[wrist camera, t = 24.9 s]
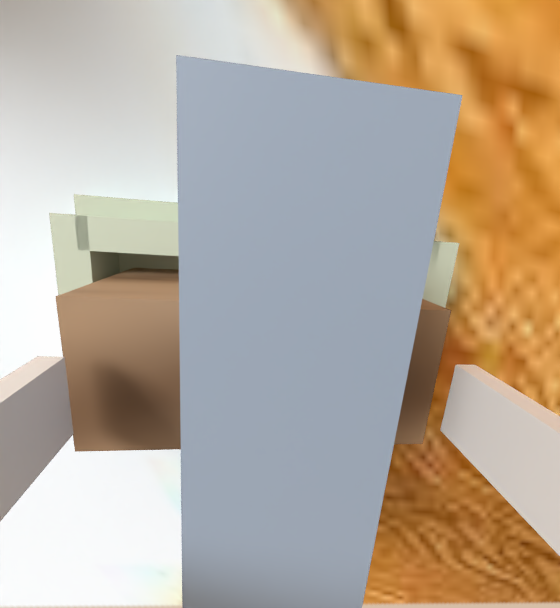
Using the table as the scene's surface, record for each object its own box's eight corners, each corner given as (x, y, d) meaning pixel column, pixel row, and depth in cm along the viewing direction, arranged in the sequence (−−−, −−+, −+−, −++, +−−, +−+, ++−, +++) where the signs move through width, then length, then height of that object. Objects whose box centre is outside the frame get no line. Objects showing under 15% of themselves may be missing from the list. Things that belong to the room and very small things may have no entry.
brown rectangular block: (133, 267, 16) (55, 296, 10) (375, 279, 18) (451, 310, 11) (139, 366, 18) (75, 451, 11) (362, 368, 20) (422, 443, 13)
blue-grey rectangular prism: (213, 145, 9) (176, 55, 4) (354, 160, 10) (461, 95, 5) (207, 545, 13) (183, 733, 8) (307, 540, 14) (341, 713, 9)
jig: (82, 195, 16) (33, 186, 12) (428, 223, 18) (472, 223, 15) (100, 408, 19) (66, 451, 16) (393, 408, 22) (423, 445, 18)
